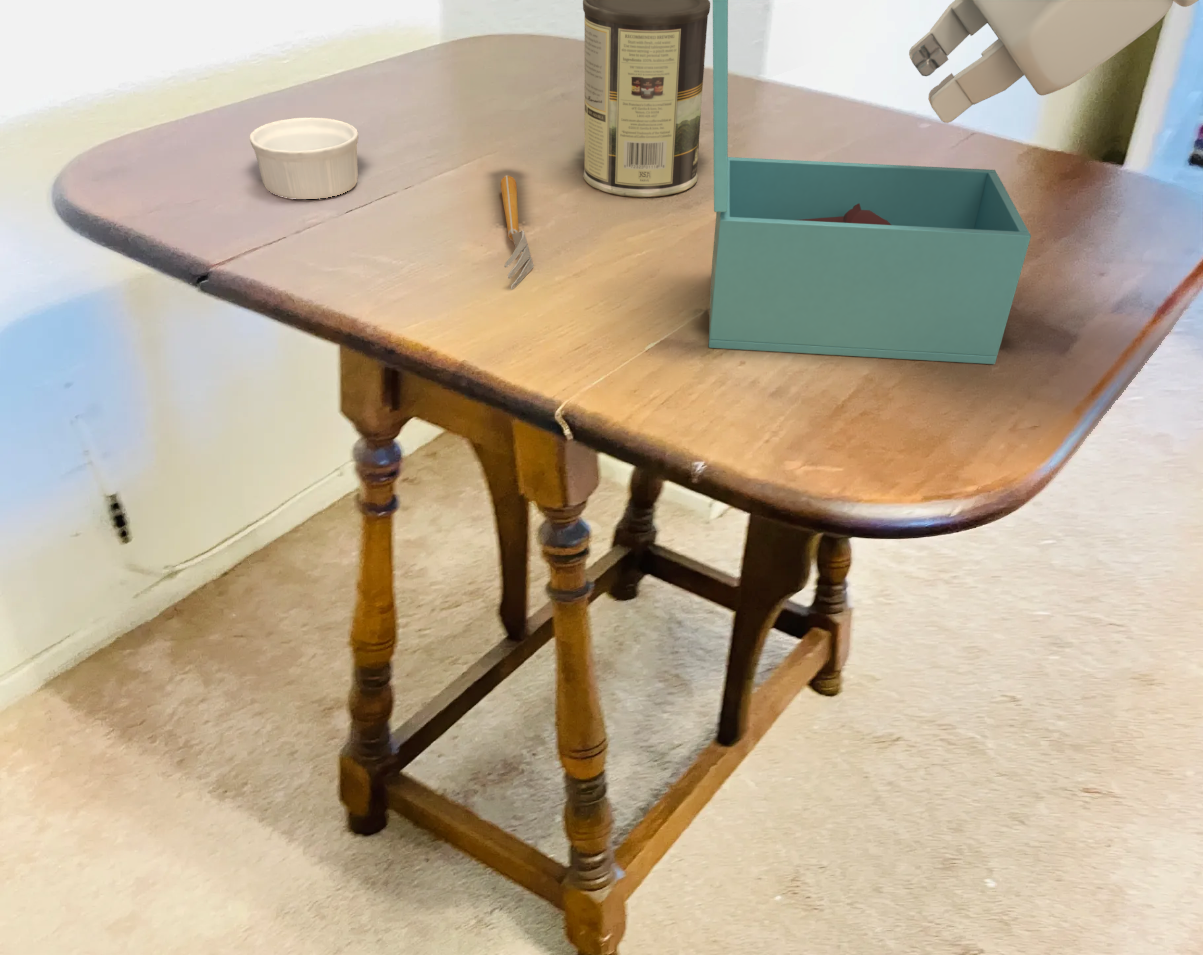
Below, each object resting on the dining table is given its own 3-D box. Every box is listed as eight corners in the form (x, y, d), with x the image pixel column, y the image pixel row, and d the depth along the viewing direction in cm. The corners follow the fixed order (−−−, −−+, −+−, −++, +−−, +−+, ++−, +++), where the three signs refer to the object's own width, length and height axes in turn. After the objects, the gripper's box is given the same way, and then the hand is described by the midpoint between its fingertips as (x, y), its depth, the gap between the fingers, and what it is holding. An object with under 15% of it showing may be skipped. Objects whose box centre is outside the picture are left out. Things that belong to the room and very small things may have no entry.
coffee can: (661, 152, 101) (670, -18, 92) (719, 187, 94) (735, 7, 85) (562, 167, 97) (561, -9, 88) (615, 205, 91) (620, 19, 81)
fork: (492, 171, 92) (502, 261, 76) (513, 165, 92) (527, 254, 76) (501, 200, 93) (512, 293, 78) (521, 195, 93) (537, 287, 78)
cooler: (965, 288, 79) (995, 169, 74) (995, 364, 70) (1031, 235, 65) (711, 275, 80) (721, 156, 75) (708, 348, 71) (719, 219, 66)
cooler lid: (728, -197, 62) (714, -196, 62) (727, -178, 53) (711, -177, 53) (727, 149, 74) (715, 149, 74) (727, 212, 65) (713, 212, 65)
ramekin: (385, 181, 94) (379, 129, 91) (311, 212, 88) (303, 157, 85) (312, 161, 98) (304, 110, 95) (236, 189, 92) (226, 136, 89)
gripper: (1070, -169, 65) (878, 5, 72) (1172, -120, 50) (915, 95, 57) (1121, -81, 68) (931, 79, 75) (1233, -8, 52) (980, 184, 60)
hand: (924, 87), depth 66 cm, fingers open, 8 cm apart
